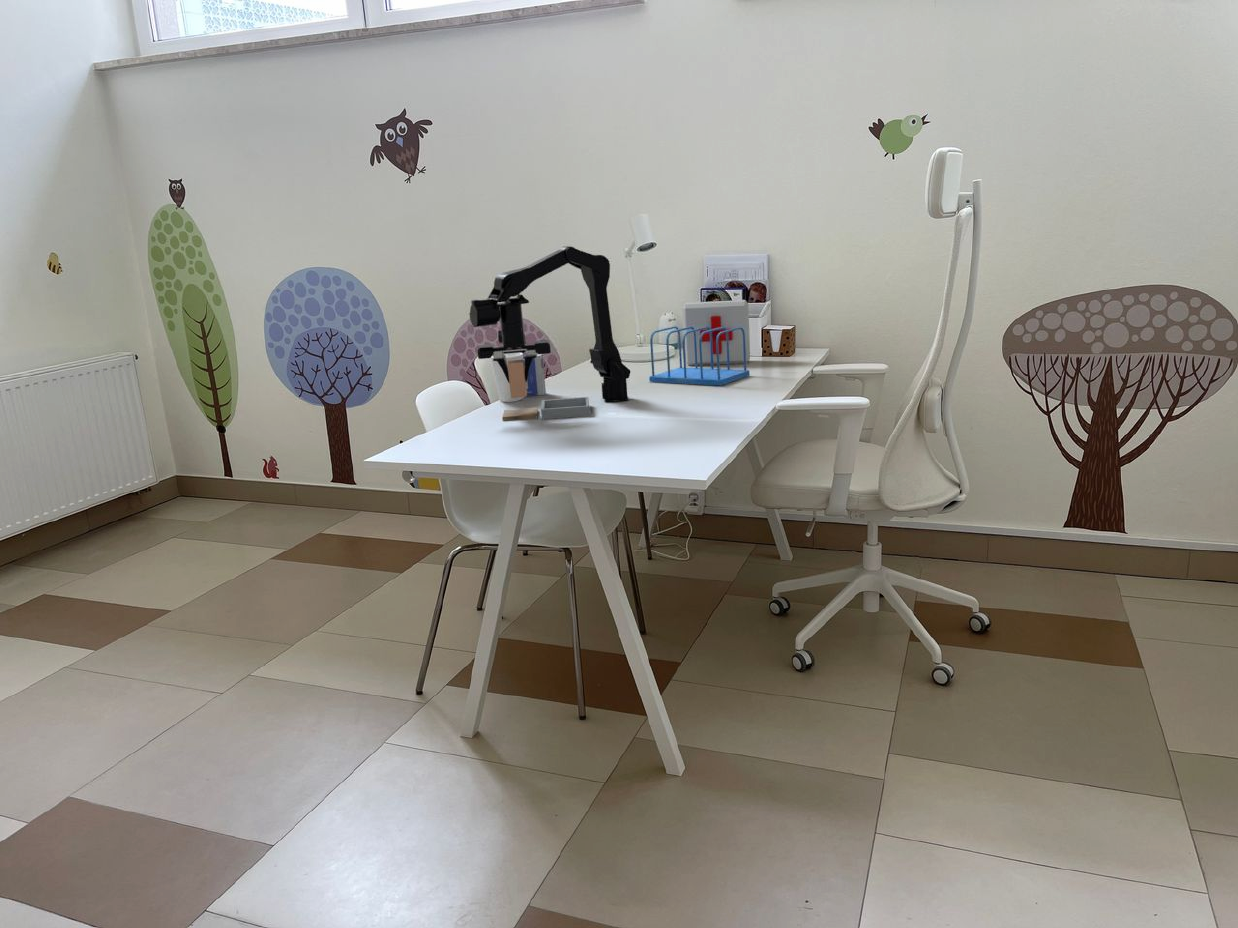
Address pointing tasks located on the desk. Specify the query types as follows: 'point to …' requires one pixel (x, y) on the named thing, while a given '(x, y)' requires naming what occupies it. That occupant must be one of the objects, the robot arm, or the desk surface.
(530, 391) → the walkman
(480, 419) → the desk surface
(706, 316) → the bevelled white case
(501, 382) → the foam cup
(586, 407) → the tray
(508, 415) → the coaster
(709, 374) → the file sorter
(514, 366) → the block
